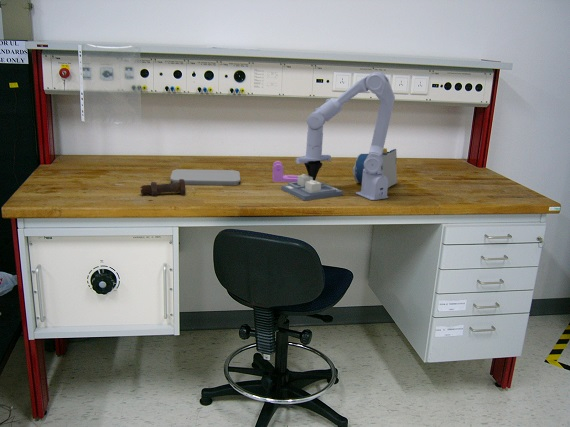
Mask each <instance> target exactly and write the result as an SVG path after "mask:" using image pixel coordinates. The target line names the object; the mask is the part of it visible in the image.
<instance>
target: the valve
mask: <svg viewBox="0 0 570 427" xmlns="http://www.w3.org/2000/svg"><path fill="white" fill-rule="evenodd" d="M368 154H369V153H360V154H359V155H357V157H356V159H355V163H354V166H353V167H351V168H352V174H353V178H354V181H355V183H356V182H357V183H359V184H362V176H363V169H365V168H364V161H365V160H366V158H367V156H368ZM383 159H384V161H383V164H382V167H381V169H382V170H383V175H384V176H386V177H387V179H388V188H390V187H392V186H395V185H396V184H398V175H397V172H398V171H397V148H394V149H391V150H390V151H388V149H387V147H384V149H383Z"/></svg>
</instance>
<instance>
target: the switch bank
mask: <svg viewBox="0 0 570 427" xmlns="http://www.w3.org/2000/svg"><path fill="white" fill-rule="evenodd" d="M316 181H317V182H319V183H321V191H316V192H309V191H307V190H305V186H300V185H298V184H297V182H287V183H288V184H283V185H281V186H280V187H281V188H280V189H281V191H283V192H285V193H287V192H288V193H287V194H289V193H290V194H289V195H291V194H292V195H291V196H293V195H294V197H295V196H296V197H295V198H297V197H298V199H299V198H300V199H299V200H301V199H302V201H303V200H304V201H303V202H305V201H313V200H318V199H319V200H320V199H326V198H332V197H334V198H335V197H339V196H340V197H341V196H343V195H344V191H343V190H341V189H339V188H336V187H334V186H332V185H330V184H327V183H325V182H322V181H319V180H316Z"/></svg>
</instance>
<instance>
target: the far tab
mask: <svg viewBox="0 0 570 427" xmlns="http://www.w3.org/2000/svg"><path fill="white" fill-rule="evenodd" d="M297 176H298V182H297V184H298V185H300V186H305V183H306V182H307V181H310V180H313V177H311V176H308V174H305V173H302V174H300V175H297Z"/></svg>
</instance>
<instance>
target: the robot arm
mask: <svg viewBox="0 0 570 427" xmlns="http://www.w3.org/2000/svg"><path fill="white" fill-rule="evenodd" d="M368 91H370V92H371V93H373V94H374V95H375V96H376V98H377V99H378V100H379V102H380V103H379V108H378V112H377V118H376V122H375V124H374V125H375V126H374V130H373V136H372V139H371V140H372V141H371V143H370V148H369V151H368V153H367V154H368V156H367V158H366V160H365V161H364V168H365V169H363V176H362V183H361V188H360V191H356V192H355V195H358V196H360V197H362V198H365V199H368V200H371V201H376V200H377V201H378V200H382V199H389V196H388V189H389V187H388V179H387V177H386V176H384V175H383V170H382V169H381V167H382V164H383V161H384V159H383V149H384V148H385V144H386V138H387V135H388V131H389V130H388V129H389V126H390V121H391V118H392V112H393V109H394V105H395V99H396V98H395V97H396V96H395V93H394V91H393V88H392V86H391V83H390V80H389V78H388V77H387V76H386V74H384V72H382V71H379V70H376V71H372V72H371V73H370V74H369V75H367V76H365V77H363V78H361V79H360V80H357V81H356V82H355V83H354V84H353V85H351V86H350V87H349V88H347V90H346V91H344V92H342V94H340V95H339V96H338V97H337V98H336V97H331V98H327V99H326V100H325V103H323V104H322V105H321V106H319V107H316V108H315V109H314V110H315V111H313V112H311V113H310V114H309V115H308V116H307V118H306V124H307V131H306V132H307V133H306V135H307V136H306V147H305V148H306V151H305V155H303V156H299V157H298V156H297V157H295V163H296V164H298V165H300V164H303V165H304V166H305V169H306V171H307V175H308V176H311V177H313V180H314V181H316V178H317V176H318V173H319V171H320V170H321V168H322V166H323V162H324V161H325V162H330V161H331V160H332V159H331V158H332V156H331V155H329V154H322V152H323V140H324V139H323V138H324V131H323V130H324V125H325V123H326V122H329V121H330V120H331V119H333V118H334V117H335V116H337V114H339V113H341V112H342V108H343V105H345V104H346V103H347V102H349V101H350V100H351V99H353V98H354V97H355V96H357V95H358V94H359V93H366V92H368Z"/></svg>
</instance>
